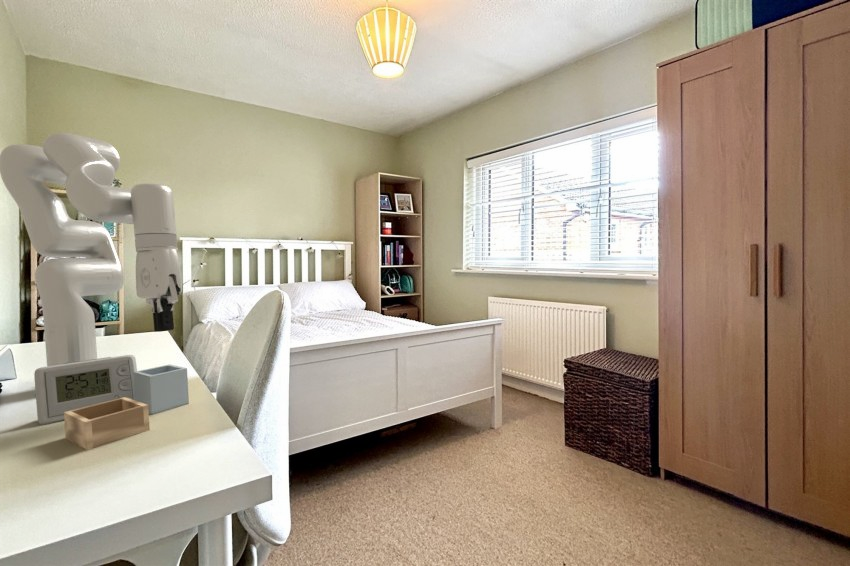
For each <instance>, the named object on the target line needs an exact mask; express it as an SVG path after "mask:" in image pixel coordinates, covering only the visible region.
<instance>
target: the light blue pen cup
mask: <svg viewBox="0 0 850 566" xmlns="http://www.w3.org/2000/svg"><path fill="white" fill-rule="evenodd" d="M133 378H134V394H135V401H138V402H141V403H144V404H147V405H148V410H149V415H155V414H156V415H157V414H159V413H162V412H166V411H169V410H170V411H171V410H173V409H175V408H179V407H183V406H186V405H190V401H189V396H190V395H189V382H188V381H189V380H188V368H187V367H183V366H178V365H173V364H165V365H161V366H155V367H152V368H151V367H150V368H147V369H141V370H140V369H139V370H137V371H136V372H133Z"/></svg>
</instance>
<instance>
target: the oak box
mask: <svg viewBox="0 0 850 566" xmlns="http://www.w3.org/2000/svg"><path fill="white" fill-rule="evenodd" d="M63 421H64V431H65V432H64V433H65V439H66V440H69V441H70V442H72V443H74V444H75V445H78V446H79V447H81V448H82V449H85V451H88V450H89V451H90V450H92V449H94V448H98V447H101V446H103V445H107V444H111V443H114V442H117V441H120V440H123V439H127V438H130V437H133V436H136V435H139V434H142V433H145V432H147V431H150V428H151V427H150V414H149V410H148V405H147V404H144V403H141V402H138V401H135V400H132V399H129V398H126V397H123V398H119V399H115V400H111V401H107V402H103V403H99V404H95V405H91V406H87V407H83V408H79V409H75V410H71V411H67V412H64V420H63Z"/></svg>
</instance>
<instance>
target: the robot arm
mask: <svg viewBox="0 0 850 566" xmlns="http://www.w3.org/2000/svg"><path fill="white" fill-rule="evenodd" d="M120 166H121V157H120V154H119V152H118V150H117V149H116V147H114V146H113V145H112V144H111V143H109V142H107V141H104V140H102V139H101V140H100V139H96V138H93V137H89V136H83V135H79V134H75V133H70V132H54V133H51V134H49V135H47V137H46V138H44V140H43V142H42V146H39V145H32V144H21V143H20V144H16V143H15V144H10V145H8V146H6V147H4V148H3V149H2V150H1V152H0V176H1V180H2V182H3V184H4V186H5V188H6V190H7V191H8V193H9V194H10V196H11V197H12V199H13V200H14V202H15V203H16V205H17V206H18V209H19V211H20V213H21V217H22V220H23V223H24V226H25V230H26V231H27V235H28V237H29V240H30V242H31V243H30V244H31V245H32V248H33V249H34V251H35V252H36V253H37V254H39V255H41V256H43V257H47V258H48V257H51V259H50V258H49V259H47V260H44V261H42V262H40V263H39V264H38V265H37V266H36V268H35V271H34V281H35V285H36V289H37V291H38V294H39V297H40V302H41V309H42V316H43V329H44V342H45V343H44V344H45V356H46V359H45V360H46V367H47V366H54V365H61V364H65V363H72V362H79V361H86V360H93V359H98V352H97V350H98V349H97V335H96V333H97V332H96V323H95V322H96V319H95V314H94V311H93V309H92V307H91V306H90V305H89V304H88V303H87V302H86V301H85V300H84V299H83V297H87V296H88V297H89V296H100V295H101V296H102V295H111V294H115V293H117V292H119V291H120V290H122V288H123V286H124V283H125V274H124V273H125V272H124V268H123V266H122V263H121V259H120V257H119V254H118V252H117V249H116V247H115V244H114V241H113V238H112V236H111V233H110V232H109V231H108V229H107V228H106V226H104V225H103V224H101V223H112V224H113V223H114V224H115V223H116V224H126V225H127V224H128V225H133V235H134V246H135V252H136V256H135V257H136V258H135V289H136V296H137V297H138V298H140V299H145V301H146V304H149V305H150V309H151V312H152V317H153V319H152V320H153V328H154V329H153V330H154V332H159V333H160V332H166V331H167V332H168V331H173V330H174V329H175V323H174V314H173V312H174V310H175V309H174V307H175V305H174V304H175V303H178V301H179V298H178V297H179V296H180V295H181V294H182V292H183V279H182V271H181V264H180V260H179V254H178V251H179V248H178V236H177V223H176V214H175V213H176V212H175V201H174V193H173V191H172V189H171V188H170V187H169V186H167V185H164V184H160V183H138V184H135V185H133V186H132V187H131V188H125V187H119V186H111V185H112V184H113V183H114V181H115V179H116V173H117V172H118V170H119V169H120ZM43 183H48V184H57V185H62V186H65V193H66V197H67V199H68V201H69V203H70V204H71V205H72V206H73V207H74V208H75V209H76V210H77V211H78V212H79V213H81V214H82V215H83V216H84V217H85V218H88V219H90V220H83V219H82V220H80V219H79V220H77V219H73V218H71V217H70V216H69V214H68V212H67V208H66V205H65V203H64V202H63V200H62V199H61V198H60V197H59V196H58V195H57V194H56V193H55V192H54V191H52V190H51V189H50V188H49V187H47V186H46V185H45V184H43ZM91 220H92V221H91Z"/></svg>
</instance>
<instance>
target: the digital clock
mask: <svg viewBox="0 0 850 566" xmlns="http://www.w3.org/2000/svg"><path fill="white" fill-rule="evenodd" d="M136 360H137V359H136V357H135V355H133V354H125V355H119V356H112V357H111V356H108V357H101V358H97V359H93V360H86V361H79V362H72V363H65V364H61V365H54V366H47V365H46V366H42V367H39V368H36V369H35V371H34V373H33V375H34V390H35V400H36V403H35V404H36V415H37V422H38V424H39V425H49V424H53V423H57V422H63V421H64V412H67V411H71V410H75V409H79V408H83V407H87V406H91V405H95V404H99V403H103V402H107V401H111V400H115V399H119V398H123V397H126V398H129V399H132V400H135V394H134V378H133V372H136V371H138V368H137V361H136Z"/></svg>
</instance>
